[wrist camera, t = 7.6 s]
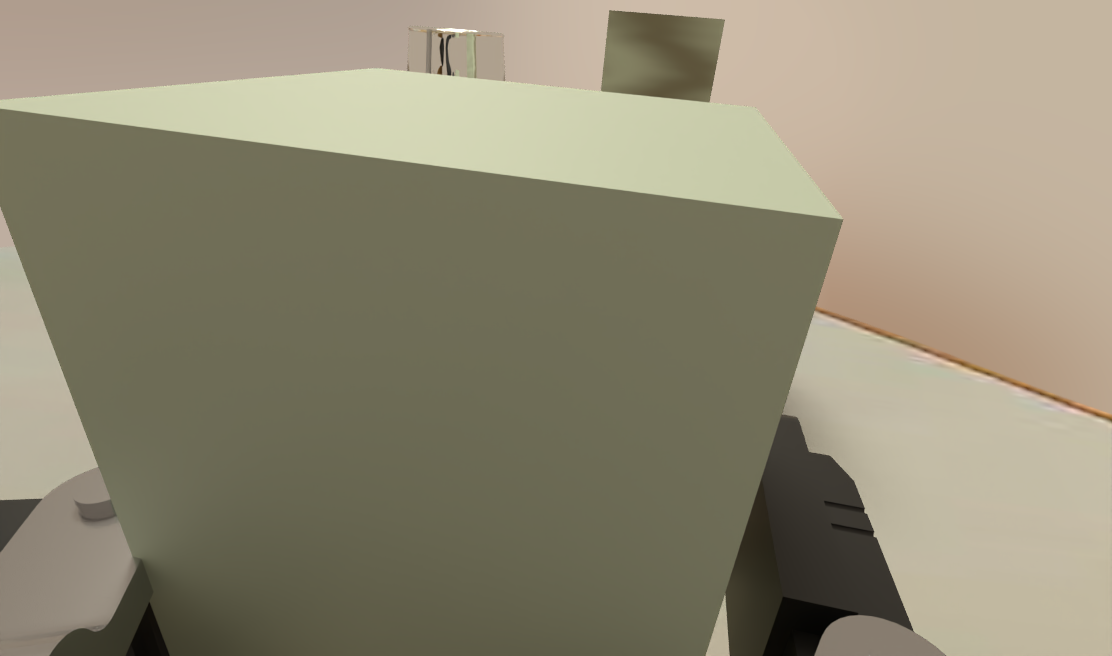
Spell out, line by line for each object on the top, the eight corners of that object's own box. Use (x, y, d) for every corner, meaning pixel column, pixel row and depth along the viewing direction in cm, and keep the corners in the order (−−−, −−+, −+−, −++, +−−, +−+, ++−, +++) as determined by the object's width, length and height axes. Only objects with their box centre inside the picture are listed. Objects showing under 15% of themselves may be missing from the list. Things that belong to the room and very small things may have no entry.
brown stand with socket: (391, 476, 22) (355, -29, 14) (529, 283, 39) (545, 9, 32) (769, 562, 20) (964, 16, 12) (738, 317, 37) (809, 30, 30)
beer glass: (489, 256, 44) (495, 34, 37) (400, 245, 44) (389, 25, 37) (507, 228, 50) (515, 34, 43) (429, 219, 50) (424, 26, 43)
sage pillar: (295, 988, 10) (-39, 103, 3) (416, 707, 15) (376, 68, 8) (565, 1096, 10) (844, 217, 3) (608, 765, 14) (755, 107, 7)
